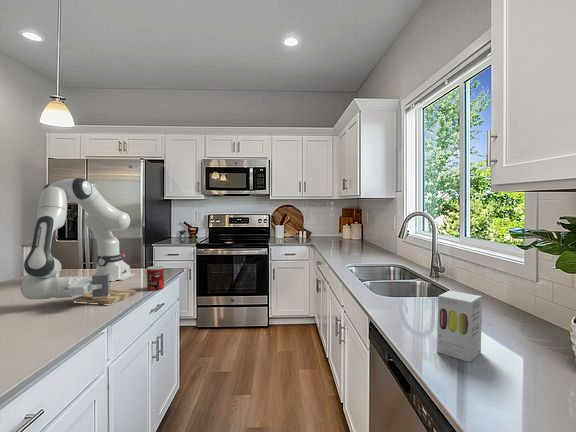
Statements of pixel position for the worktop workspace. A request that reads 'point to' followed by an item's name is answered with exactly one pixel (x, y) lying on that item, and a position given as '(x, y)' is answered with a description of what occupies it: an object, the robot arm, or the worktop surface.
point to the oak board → (114, 297)
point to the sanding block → (105, 289)
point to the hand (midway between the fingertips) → (103, 284)
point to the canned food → (155, 278)
